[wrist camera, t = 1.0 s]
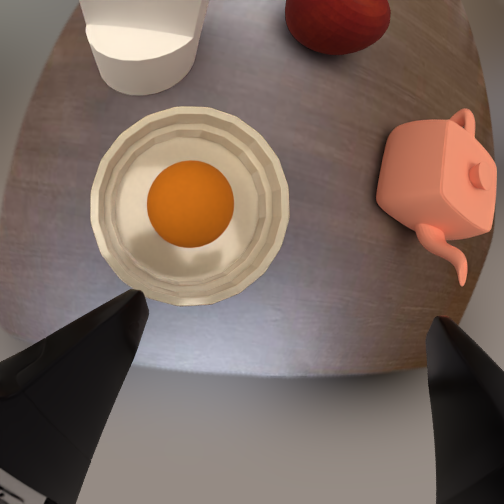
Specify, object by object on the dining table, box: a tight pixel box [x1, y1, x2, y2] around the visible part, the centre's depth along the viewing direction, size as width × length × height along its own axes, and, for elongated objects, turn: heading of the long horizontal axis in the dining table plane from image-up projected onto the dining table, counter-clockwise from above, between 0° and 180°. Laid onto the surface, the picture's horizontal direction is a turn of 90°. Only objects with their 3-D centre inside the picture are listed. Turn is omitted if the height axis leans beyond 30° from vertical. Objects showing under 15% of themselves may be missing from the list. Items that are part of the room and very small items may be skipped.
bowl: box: [91, 107, 289, 306], centre depth 22 cm, size 14×14×4 cm
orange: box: [147, 160, 234, 248], centre depth 21 cm, size 6×6×6 cm
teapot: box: [376, 108, 497, 286], centre depth 25 cm, size 12×18×10 cm, turn 161°
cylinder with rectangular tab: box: [79, 0, 209, 96], centre depth 16 cm, size 9×9×12 cm
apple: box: [285, 0, 390, 55], centre depth 21 cm, size 10×10×10 cm
